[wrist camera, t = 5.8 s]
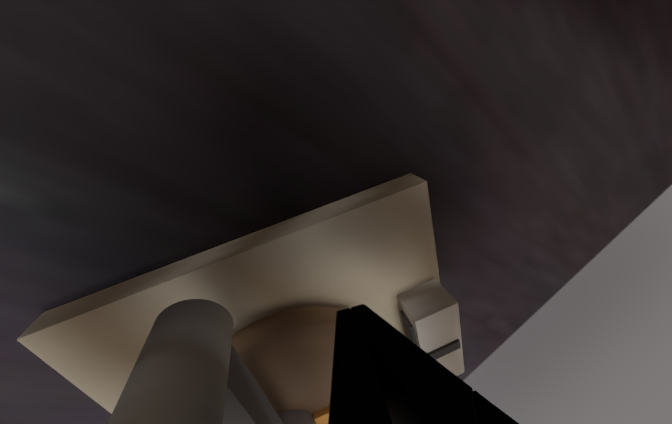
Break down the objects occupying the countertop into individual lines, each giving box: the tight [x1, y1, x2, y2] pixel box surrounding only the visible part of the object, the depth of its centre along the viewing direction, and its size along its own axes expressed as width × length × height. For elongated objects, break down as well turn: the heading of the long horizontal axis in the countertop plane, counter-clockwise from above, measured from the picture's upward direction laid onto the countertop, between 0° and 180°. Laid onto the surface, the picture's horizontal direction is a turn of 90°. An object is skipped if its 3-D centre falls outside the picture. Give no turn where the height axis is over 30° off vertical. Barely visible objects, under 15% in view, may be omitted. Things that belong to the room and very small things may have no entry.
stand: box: [16, 173, 464, 414], centre depth 15 cm, size 18×18×4 cm
